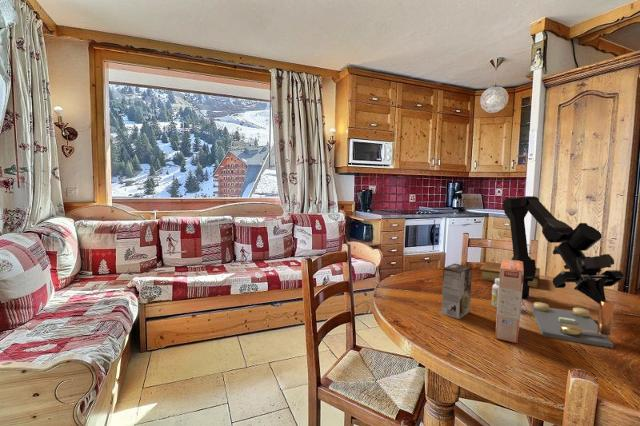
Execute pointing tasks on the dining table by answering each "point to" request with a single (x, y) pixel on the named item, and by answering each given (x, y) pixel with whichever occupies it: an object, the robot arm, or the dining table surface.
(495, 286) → the supplement bottle
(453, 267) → the coffee box
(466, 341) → the dining table surface
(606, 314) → the screw handle
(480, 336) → the dining table surface
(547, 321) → the base
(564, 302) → the dining table surface
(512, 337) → the cracker box
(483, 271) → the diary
